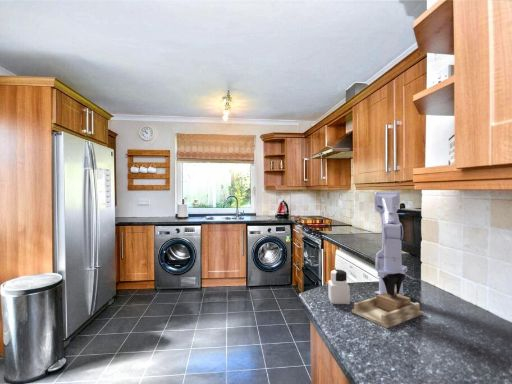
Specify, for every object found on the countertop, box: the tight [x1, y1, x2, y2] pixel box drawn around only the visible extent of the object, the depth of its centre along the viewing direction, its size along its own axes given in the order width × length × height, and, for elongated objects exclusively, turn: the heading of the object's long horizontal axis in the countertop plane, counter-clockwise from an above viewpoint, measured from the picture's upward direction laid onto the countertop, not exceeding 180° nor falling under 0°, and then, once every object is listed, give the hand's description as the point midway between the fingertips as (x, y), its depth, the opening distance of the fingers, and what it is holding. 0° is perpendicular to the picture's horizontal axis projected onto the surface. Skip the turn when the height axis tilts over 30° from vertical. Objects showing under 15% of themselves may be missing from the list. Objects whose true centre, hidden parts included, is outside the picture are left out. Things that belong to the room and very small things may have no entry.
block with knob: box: [375, 284, 412, 312], centre depth 101 cm, size 8×8×9 cm
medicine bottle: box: [327, 269, 351, 305], centre depth 111 cm, size 7×7×12 cm
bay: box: [351, 296, 424, 329], centre depth 99 cm, size 20×14×4 cm
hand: (393, 293), depth 101 cm, fingers closed on block with knob, 2 cm apart
